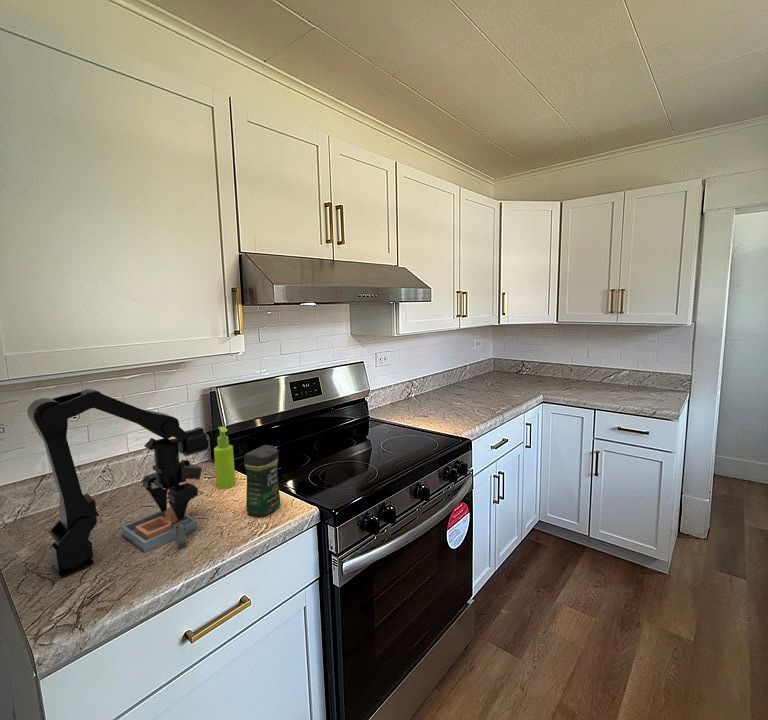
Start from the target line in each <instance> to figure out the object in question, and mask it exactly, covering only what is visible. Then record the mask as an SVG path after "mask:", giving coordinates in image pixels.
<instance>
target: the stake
mask: <svg viewBox="0 0 768 720" xmlns="http://www.w3.org/2000/svg"><path fill="white" fill-rule="evenodd" d="M188 521H189V518H188V517H185V518H182V519H180V520H178V521H175V522H173V523H171V527H173V528H174V527H176V533H177V538H176V542H177V543H176V544H177V549H185V548H186V547H187V534H186V532H185V523H186V522H188Z"/></svg>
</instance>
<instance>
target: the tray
mask: <svg viewBox="0 0 768 720" xmlns="http://www.w3.org/2000/svg"><path fill="white" fill-rule="evenodd" d="M169 509H171V506H170V507H168V508H167V507H166V510H169ZM160 516H163V517H165V511H164V512H162V511H161V510H160V511H156V512H155V513H152V514H150V515H147V516H144V517H142V518H139V519H137V520H134V521H132V522H129V523H126V524H123V525H121V526H120V529H121V530H120V532H121V536H122V537H123V538H124V539H126V540H127V541H129V542H130V543H131V544H133V545H134V546H135V547H136V548H138V549H140V550H141V551H142V552H144V553H148V552H150V551H152V550H154V549H156V548H158V547H161V546H163V545H165V544H167V543H170V542H172V541H174V540H177V533H176V527H175V528H174V529H172V530H170V531H168V532H165V533H163V534H161V535H158V536H156V537H154V538H151V539H149V540H147V541H145V540H144V539H143V538H141V537H140V536H138V535H137V534H135V527H136V526H138V525H140V524H143V523H145V522H148V521H150V520H153V519H155V518H158V517H160ZM185 517H188V518H189V521H188V522H186V523H185V532H186V535H187V534H189V533H192V532H194V531H197V530H198V529H199V528H198V520H197V519H196V518H194V517H192V516H190V515H188V514H186V513H185V515H184V518H185ZM161 527H162V526H161V525H160V526H158V527H156V528H153V529H151V530H148V532H151V531H153V530H156V529H158V528H161Z"/></svg>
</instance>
